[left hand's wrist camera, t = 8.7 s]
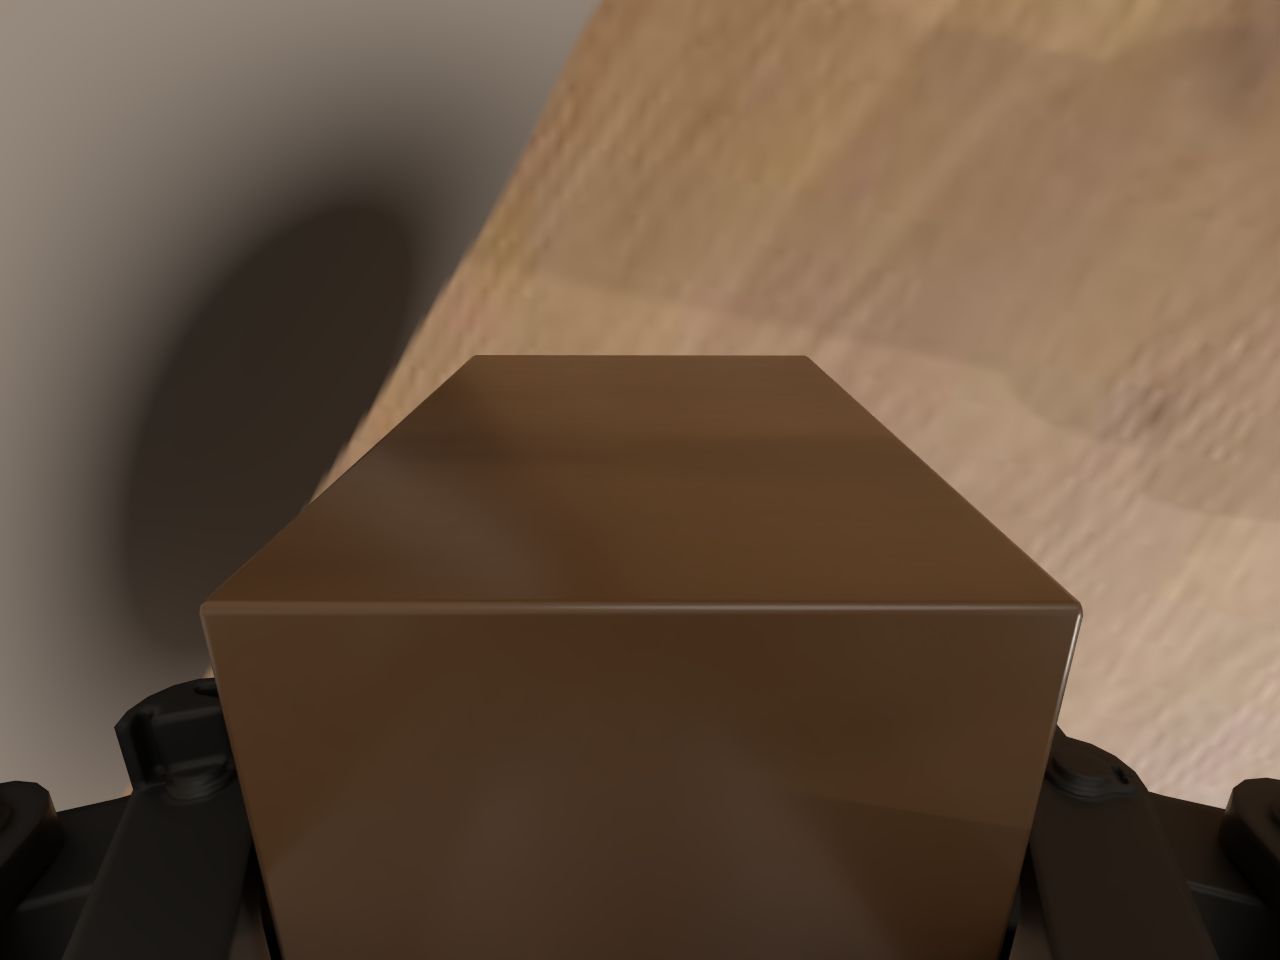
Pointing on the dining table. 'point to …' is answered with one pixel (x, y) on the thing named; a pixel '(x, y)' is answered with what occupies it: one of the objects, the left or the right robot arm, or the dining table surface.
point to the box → (640, 679)
